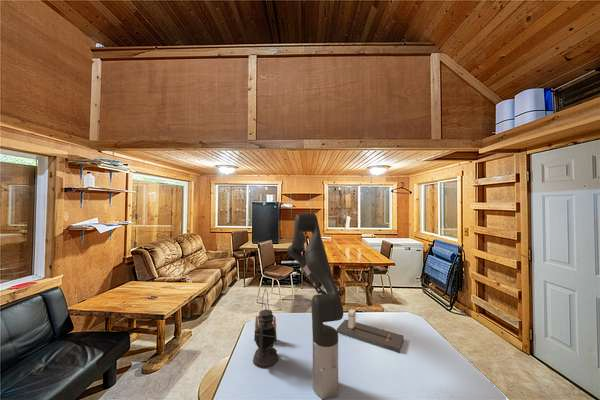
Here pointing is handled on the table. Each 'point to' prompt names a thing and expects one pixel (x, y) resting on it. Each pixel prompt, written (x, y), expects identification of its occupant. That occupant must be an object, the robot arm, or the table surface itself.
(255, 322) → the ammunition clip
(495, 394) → the table surface
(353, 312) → the fader cap
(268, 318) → the lantern
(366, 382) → the table surface
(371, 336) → the grey fader track base
